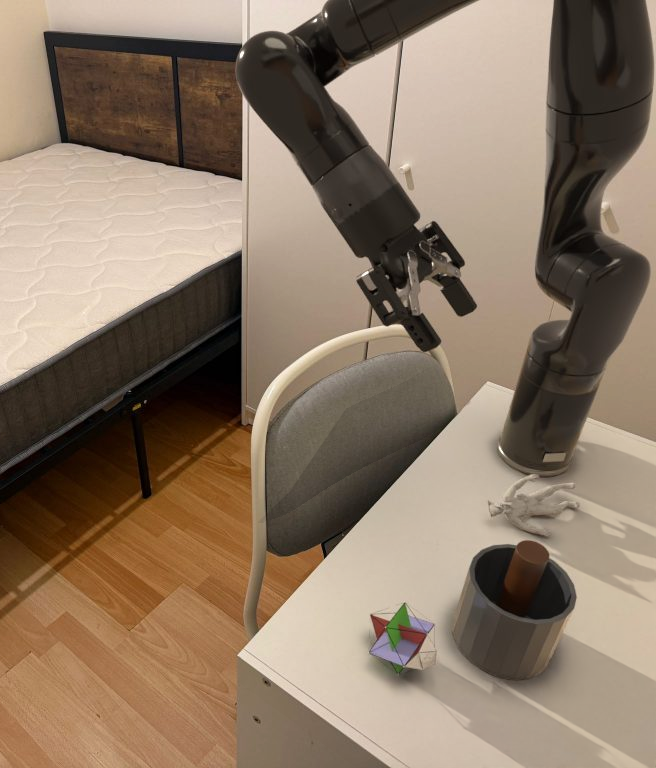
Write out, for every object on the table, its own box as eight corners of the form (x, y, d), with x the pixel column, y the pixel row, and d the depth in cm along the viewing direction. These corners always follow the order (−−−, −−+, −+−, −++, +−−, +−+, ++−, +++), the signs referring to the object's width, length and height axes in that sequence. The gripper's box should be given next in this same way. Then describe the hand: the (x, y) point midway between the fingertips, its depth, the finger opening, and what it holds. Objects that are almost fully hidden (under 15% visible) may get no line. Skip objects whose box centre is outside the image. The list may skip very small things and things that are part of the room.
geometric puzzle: (340, 636, 80) (388, 627, 74) (372, 597, 84) (420, 585, 77) (382, 690, 80) (434, 685, 73) (413, 648, 83) (465, 640, 77)
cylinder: (490, 618, 83) (519, 535, 74) (518, 630, 81) (552, 547, 73) (483, 638, 81) (513, 555, 72) (512, 651, 79) (546, 568, 71)
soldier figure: (586, 529, 94) (525, 541, 88) (551, 530, 98) (490, 541, 93) (573, 469, 95) (512, 476, 90) (539, 473, 99) (479, 480, 94)
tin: (465, 587, 87) (483, 531, 81) (557, 625, 82) (583, 568, 76) (441, 652, 80) (458, 595, 74) (539, 696, 76) (566, 640, 70)
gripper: (355, 207, 69) (451, 348, 69) (424, 161, 77) (510, 287, 77) (303, 244, 75) (391, 373, 75) (372, 197, 83) (452, 314, 83)
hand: (451, 329), depth 76 cm, fingers open, 8 cm apart
